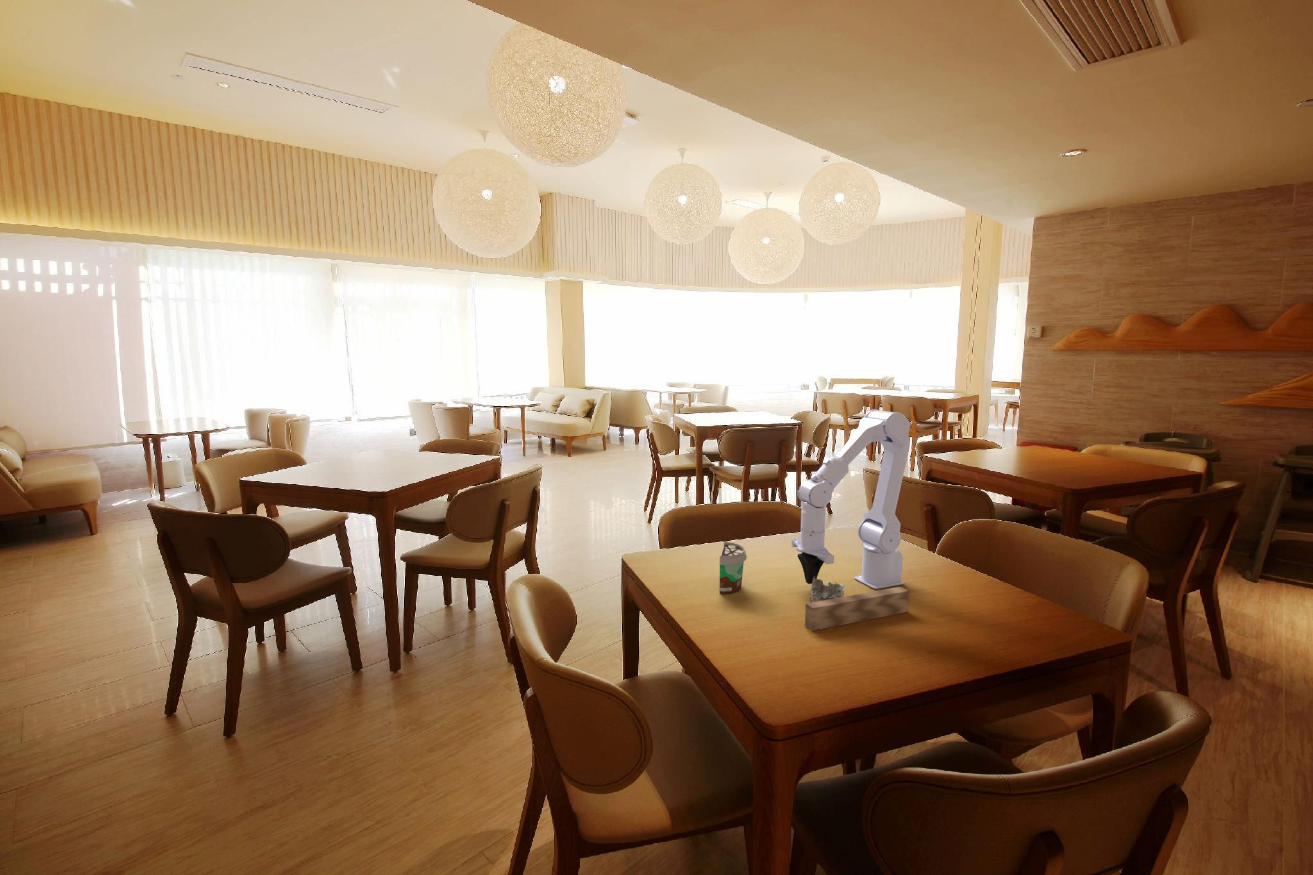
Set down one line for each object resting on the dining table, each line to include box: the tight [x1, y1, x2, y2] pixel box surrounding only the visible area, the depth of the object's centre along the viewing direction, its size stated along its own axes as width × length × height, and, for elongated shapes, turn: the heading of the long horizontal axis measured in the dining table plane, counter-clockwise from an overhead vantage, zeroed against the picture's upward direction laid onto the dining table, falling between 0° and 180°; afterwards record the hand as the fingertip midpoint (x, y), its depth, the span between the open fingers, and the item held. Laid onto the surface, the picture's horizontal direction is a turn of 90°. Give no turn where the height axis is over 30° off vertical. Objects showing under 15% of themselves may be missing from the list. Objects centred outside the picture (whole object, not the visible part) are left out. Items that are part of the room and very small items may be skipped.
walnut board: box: [804, 586, 910, 632], centre depth 130 cm, size 26×2×5 cm, turn 111°
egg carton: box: [810, 576, 845, 603], centre depth 139 cm, size 11×8×4 cm
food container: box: [719, 541, 748, 595], centre depth 147 cm, size 12×6×10 cm, turn 168°
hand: (810, 582), depth 145 cm, fingers closed
